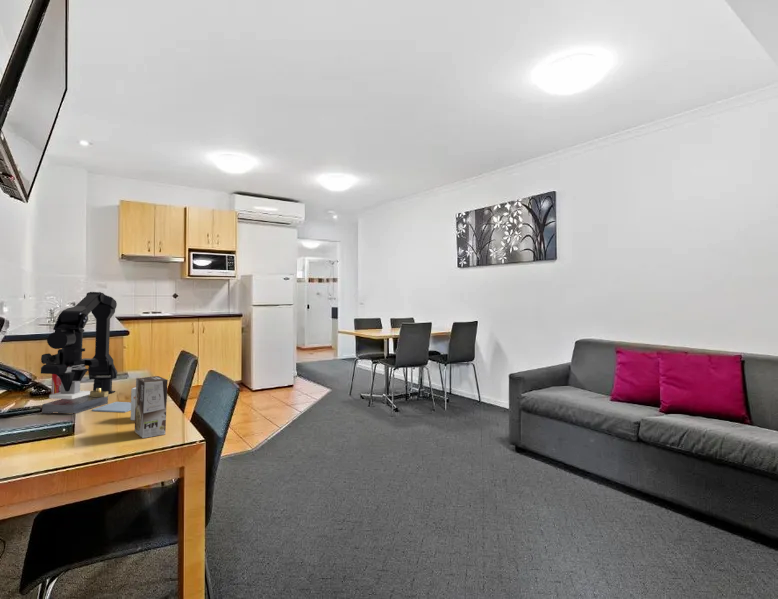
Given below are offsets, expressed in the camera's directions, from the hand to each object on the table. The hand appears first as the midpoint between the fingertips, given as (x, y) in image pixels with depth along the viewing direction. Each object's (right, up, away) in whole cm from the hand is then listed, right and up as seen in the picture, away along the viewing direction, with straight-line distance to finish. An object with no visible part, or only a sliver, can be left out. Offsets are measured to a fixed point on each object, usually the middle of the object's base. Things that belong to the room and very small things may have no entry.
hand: (70, 390), depth 146 cm
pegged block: (+4, -4, +8) cm, 10 cm away
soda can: (-21, -7, +23) cm, 32 cm away
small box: (+31, -8, -8) cm, 33 cm away
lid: (0, -2, 0) cm, 2 cm away
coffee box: (+41, -8, -22) cm, 47 cm away
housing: (0, -7, +3) cm, 8 cm away
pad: (+14, -7, +5) cm, 17 cm away
